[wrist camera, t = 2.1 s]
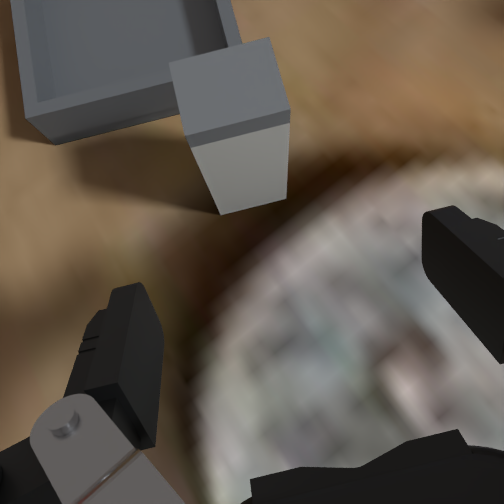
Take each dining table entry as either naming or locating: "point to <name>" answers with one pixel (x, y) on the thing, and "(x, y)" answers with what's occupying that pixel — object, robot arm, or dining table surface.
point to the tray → (109, 59)
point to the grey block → (236, 122)
